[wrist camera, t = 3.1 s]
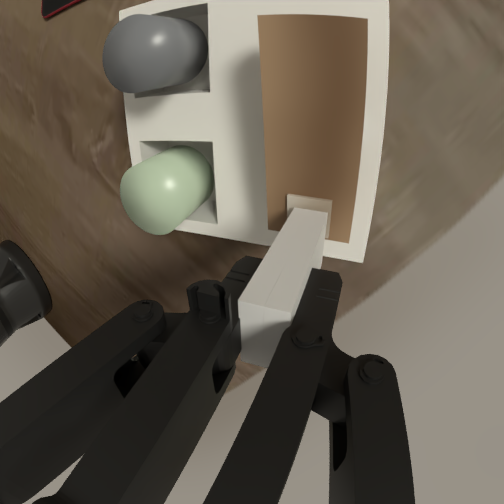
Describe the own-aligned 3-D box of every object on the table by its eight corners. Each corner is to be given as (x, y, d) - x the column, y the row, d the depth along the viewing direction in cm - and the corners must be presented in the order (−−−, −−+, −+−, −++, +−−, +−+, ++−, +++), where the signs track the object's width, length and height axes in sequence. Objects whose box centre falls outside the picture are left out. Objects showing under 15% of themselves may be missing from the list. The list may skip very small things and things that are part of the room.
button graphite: (149, 88, 17) (105, 97, 14) (146, 26, 15) (101, 25, 12) (209, 82, 16) (170, 89, 13) (207, 14, 13) (166, 5, 10)
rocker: (275, 214, 17) (266, 231, 16) (268, 16, 10) (255, 15, 9) (351, 226, 15) (348, 245, 14) (367, 20, 9) (367, 18, 8)
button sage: (162, 202, 21) (127, 229, 18) (154, 144, 19) (114, 163, 16) (216, 210, 20) (185, 240, 17) (212, 145, 18) (176, 166, 15)
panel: (171, 201, 25) (131, 232, 21) (156, 14, 17) (104, 10, 12) (365, 230, 21) (361, 276, 16) (384, 3, 12) (389, -22, 8)
